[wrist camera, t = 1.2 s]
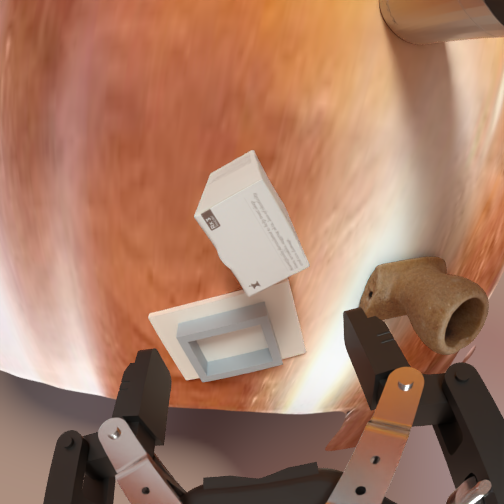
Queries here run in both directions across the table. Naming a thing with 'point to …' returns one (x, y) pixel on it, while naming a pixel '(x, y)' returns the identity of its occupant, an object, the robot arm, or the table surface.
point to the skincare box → (250, 225)
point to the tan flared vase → (428, 301)
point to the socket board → (231, 333)
